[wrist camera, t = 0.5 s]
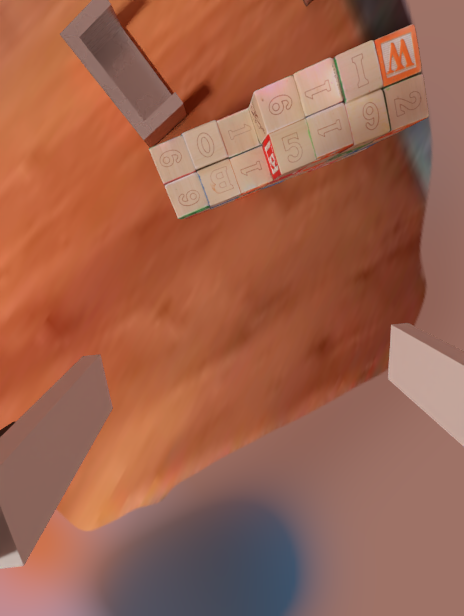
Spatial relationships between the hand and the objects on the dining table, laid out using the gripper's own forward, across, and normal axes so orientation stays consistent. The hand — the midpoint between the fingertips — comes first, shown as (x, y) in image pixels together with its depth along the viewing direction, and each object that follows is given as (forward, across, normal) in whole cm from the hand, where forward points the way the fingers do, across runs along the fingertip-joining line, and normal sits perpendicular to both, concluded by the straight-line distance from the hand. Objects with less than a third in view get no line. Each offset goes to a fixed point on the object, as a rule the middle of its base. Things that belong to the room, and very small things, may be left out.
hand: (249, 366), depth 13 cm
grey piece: (+25, -8, +21) cm, 33 cm away
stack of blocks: (+25, +5, +13) cm, 29 cm away
